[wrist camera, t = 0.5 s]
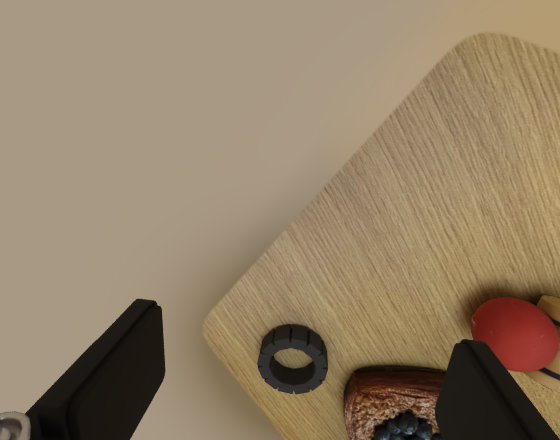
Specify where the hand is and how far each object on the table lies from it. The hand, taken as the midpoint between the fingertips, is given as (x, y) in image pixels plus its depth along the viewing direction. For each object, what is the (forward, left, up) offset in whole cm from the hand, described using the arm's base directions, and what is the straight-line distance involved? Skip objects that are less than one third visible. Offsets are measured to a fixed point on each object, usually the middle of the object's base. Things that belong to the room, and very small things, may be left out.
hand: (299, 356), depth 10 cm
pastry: (+20, +15, -19) cm, 31 cm away
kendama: (+7, +25, -19) cm, 33 cm away
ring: (+17, +2, -19) cm, 26 cm away
